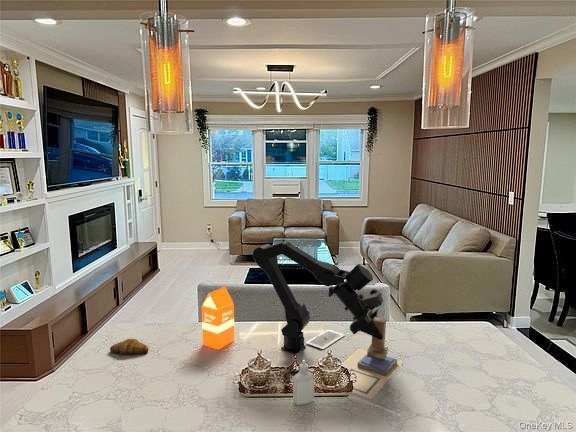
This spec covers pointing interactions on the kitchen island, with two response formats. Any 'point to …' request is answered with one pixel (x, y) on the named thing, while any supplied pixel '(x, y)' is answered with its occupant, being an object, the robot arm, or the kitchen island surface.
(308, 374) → the eye dropper bottle
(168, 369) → the kitchen island surface
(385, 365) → the ink pad
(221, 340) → the orange juice
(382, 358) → the walnut stamp
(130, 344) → the croissant
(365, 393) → the board
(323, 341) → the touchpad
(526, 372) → the kitchen island surface
